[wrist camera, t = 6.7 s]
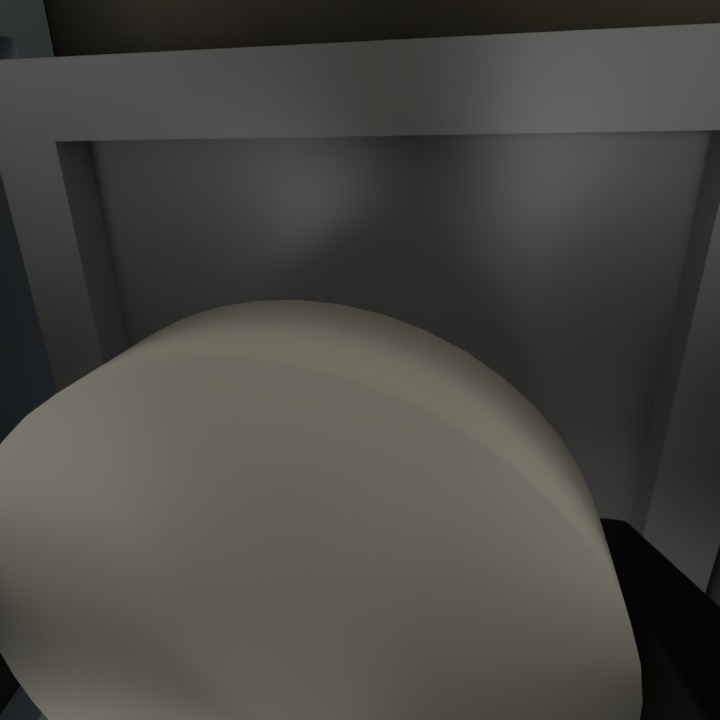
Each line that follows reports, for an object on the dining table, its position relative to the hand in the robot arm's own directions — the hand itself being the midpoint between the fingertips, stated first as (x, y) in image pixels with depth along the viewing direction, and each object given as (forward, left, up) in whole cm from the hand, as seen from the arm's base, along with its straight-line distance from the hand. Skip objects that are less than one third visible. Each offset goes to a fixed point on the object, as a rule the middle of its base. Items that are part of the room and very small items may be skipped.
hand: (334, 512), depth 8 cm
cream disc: (0, 0, +1) cm, 1 cm away
